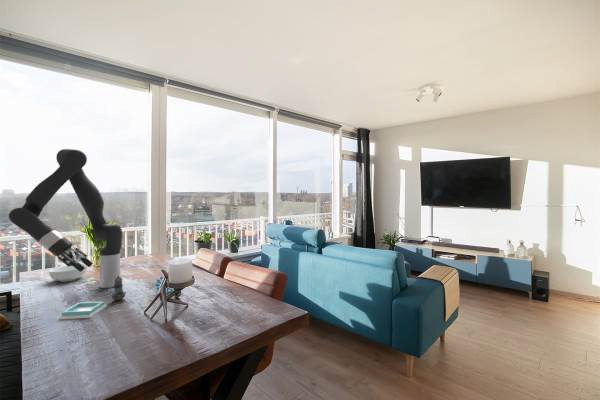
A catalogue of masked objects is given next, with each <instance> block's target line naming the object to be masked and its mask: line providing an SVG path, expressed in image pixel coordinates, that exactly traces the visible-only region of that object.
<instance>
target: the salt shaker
mask: <svg viewBox="0 0 600 400" xmlns="http://www.w3.org/2000/svg"><path fill="white" fill-rule="evenodd" d="M123 286H124V284H123V278H122V277H121V278H120V277H119V276H118V277H117V278H116V279H115V286H114V287H113V288H114V291H113V293H111V294H110V296H111V298H112V302H111V304H114V305H115V304H116V305H117V304H122V303H124V302H125V301H126V299H124V298H125V297H126V293H127V292H126V291H124V290H123Z"/></svg>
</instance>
